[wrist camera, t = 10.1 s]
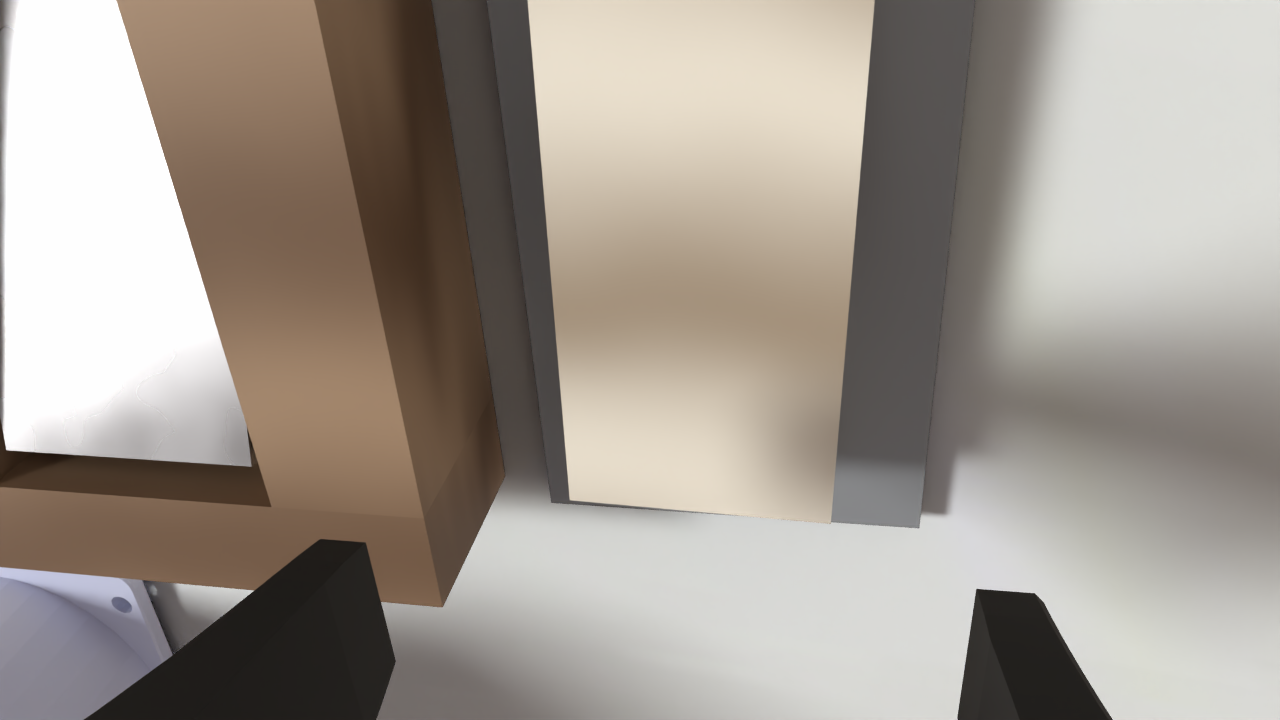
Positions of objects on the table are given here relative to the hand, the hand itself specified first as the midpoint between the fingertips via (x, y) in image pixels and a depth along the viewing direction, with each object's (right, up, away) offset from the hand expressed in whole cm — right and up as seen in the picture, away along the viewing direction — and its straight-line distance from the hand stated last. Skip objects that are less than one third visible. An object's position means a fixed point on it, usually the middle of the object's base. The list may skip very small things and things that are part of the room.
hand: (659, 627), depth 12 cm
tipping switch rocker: (-9, +6, +5) cm, 12 cm away
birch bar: (+1, +5, +5) cm, 7 cm away
